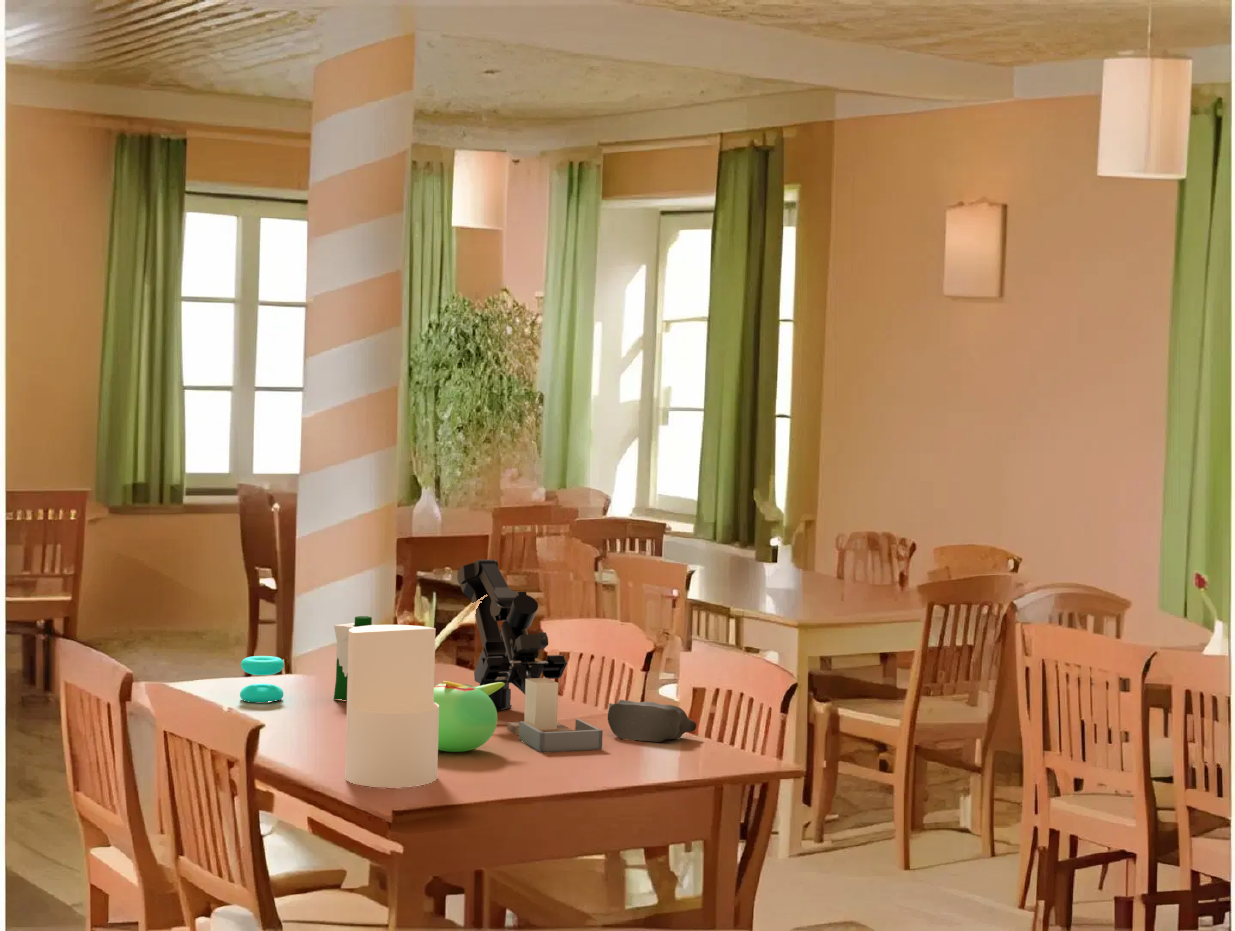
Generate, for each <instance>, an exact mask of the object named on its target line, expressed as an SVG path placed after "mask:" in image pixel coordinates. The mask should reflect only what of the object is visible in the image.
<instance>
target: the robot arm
mask: <svg viewBox="0 0 1235 931" xmlns="http://www.w3.org/2000/svg"><path fill="white" fill-rule="evenodd" d="M457 582H458V584H459V586H460V589H461V591H462V592H461V593H462V594H464V595H465V597H467V598H468V599H469V600H471V604H472V603H474V602H476V601H477V600H478V599H480V598H481V597H483V596H484V595H486V594H487V595H488V596H487V597H485V598H484V599H483V600H480V601H482V603H480V604H479V606H478V608H477V609H476V614H475V613H474V617H475V620H476V625H477V628H478V629H477V630H478V632H479V638H480V641H481V645H482V651H481V653H480V655H479V657H478V662H477V663H476V667H475V668H474V672H473V674H474V682H476V683H478V684H479V686H482V685H486V684H491V683H497V682H503V683H505V685H504V686H503V687H502V688H500V689H499V690H497V691H495V692H494V693H492V694H490V695H489V697H490V699H491V700H492V701H493V703H494V705H495V707H496V711H498V712H501V711H504V710H506V709H510V708H512V704H511V697H512V696H511V692H512V691H511V690H512V689H511V688H510V684H512V685H513V686H515V687H516V688H517V689H518V690H519V691H521V692H522V694H523V695H525V682H526V679H529V678H541V675H543V678H548V679H551V680H556V679H560V678H562V676H563V674H564V671H565V669H566V667H567V664H568V662H567V658H566V657H565V655H563V654H548V655H547V656H546V659H545V660H536V659H538V657H539V655H540V654H539V651H540V650H542V649H545V648H547V646H548V645H549V638H548V635H547V632H546V631H545V632H544V631H543V632H538V633H537V634H534V633H533V634H532V633H531V634H529V633H528V629H529V628H530V627H531V626H532V623H533V621H534V619H535V616H536V614H537V611H538V609H539V603H538V601H537V600H536V599H534V597H532V596H531V595H529V594H527V591H516V590H514V589H511V588H510V587H509V585H508V583H507V581H506V579H505V578H504V576H503V574H502V572H501V570H500V568H499V563H498V561H497V560H495V559H493V558H492V559H491V558H489V559H477V560H475V561H474V562H472V563H469V564H463V565H462V567H460V568H459V569H458V571H457ZM498 622H502V623H501V625H500V627H499V623H498Z"/></svg>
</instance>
